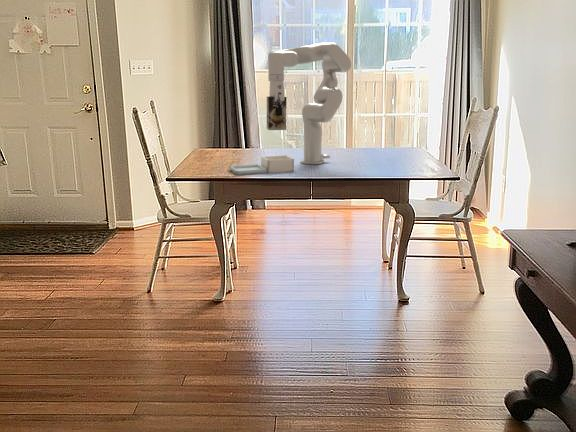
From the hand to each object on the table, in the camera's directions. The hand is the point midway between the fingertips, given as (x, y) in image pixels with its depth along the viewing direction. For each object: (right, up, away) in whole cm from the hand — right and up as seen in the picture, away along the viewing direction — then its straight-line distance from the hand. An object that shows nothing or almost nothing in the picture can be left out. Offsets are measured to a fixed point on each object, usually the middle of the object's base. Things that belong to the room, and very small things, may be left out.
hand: (276, 114), depth 284 cm
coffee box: (0, -7, +2) cm, 8 cm away
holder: (0, -27, +8) cm, 28 cm away
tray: (-14, -28, +3) cm, 31 cm away
